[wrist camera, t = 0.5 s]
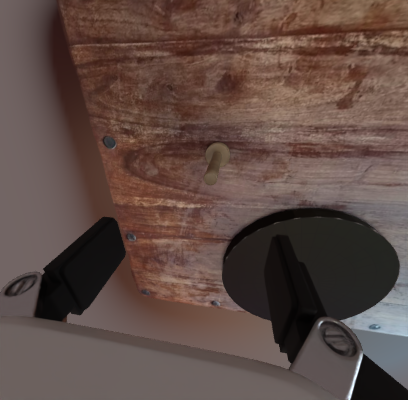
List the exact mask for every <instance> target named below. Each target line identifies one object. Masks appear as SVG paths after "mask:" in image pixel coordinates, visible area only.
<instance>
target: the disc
mask: <svg viewBox="0 0 408 400" xmlns="http://www.w3.org/2000/svg"><path fill="white" fill-rule="evenodd" d="M276 234H279V235H288V237H289V239H290V241H291V244H292V246H293V249H294V252H295V254H296V257H297V259H298V261H300V262H304V263H305V265H306V267H307V270H308V272H309V274H310V276H311V279H312V281H313V283H314V286H315V288H316V290H317V293H318V295H319V297H320V300H321V302H322V304H323V307H324V309H325V311H326V314H327V316H328V317H332V318H335V319H337V320H343V319H347V318H349V317H352V316H355V315H357V314H360V313H362V312H364V311H366V310H368V309H369V308H371V307H373V306H375V305H376V304H377V303H378V302H380V301H381V300H382V299H383V298H385V297H386V295H387V294H388V293H389V292H390V291H391V290H392V288H393V287H394V285H395V283H396V281H397V278H398V276H399V267H400V263H399V260H398V256H397V252H396V251H395V249H394V248H393V247H392V245H391V244H390V242H389V241H388V240H387V239H385V238H384V237H383V236H382V235H380V234H379V233H378V232H377V231H376V230H375V229H374V228H372V227H371V226H370V225H369V224H367V223H366V222H365V221H363V220H361V219H359V218H357V217H355V216H352V215H350V214H348V213H343V212H339V211H335V210H331V209H319V208H305V209H292V210H288V211H284V212H279V213H275V214H272V215H270V216H267V217H265V218H262V219H260V220H257V221H256V222H254V223H253V224H251V225H249V226H248V227H246V228H244V229H243V230H242V231H241V232H240V233H239V234H238V235H237V236H236V237H235V238H234V239H233V240H232V242H231V243H230V245H229V246H228V248H227V251H226V253H225V256H224V263H223V271H222V280H223V284H224V287H225V289H226V291H227V293H228V295H229V296H230V297H231V298H232V300H233V301H234V302H235V303H236V304H238V305H239V306H240V307H241V308H243V309H244V310H246V311H248V312H250V313H251V314H253V315H256V316H259V317H261V318H263V319H267V320H270V321H271V316H270V310H269V304H268V298H267V292H266V286H265V280H264V267H265V263H266V259H267V255H268V251H269V247H270V243H271V239H272V237H275V236H276Z"/></svg>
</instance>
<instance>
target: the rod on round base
mask: <svg viewBox="0 0 408 400" xmlns="http://www.w3.org/2000/svg"><path fill="white" fill-rule="evenodd" d="M205 157H206V161H207V162H208V164H209V166H208V168H207V171H206V173H205V176H204V182H205V183H206V184H208V185H214V184H215V183H216V182H217V178H218V173H219V169H220V167H223V166H225V165H226V164H227V163H228V161H229V158H230V150H229V148H228V146H227V145H226V144H224V143H222V142H214V143H212V144H211V145H210V146H209V147H208V149H207V150H206V154H205Z"/></svg>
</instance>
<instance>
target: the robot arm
mask: <svg viewBox="0 0 408 400" xmlns="http://www.w3.org/2000/svg"><path fill="white" fill-rule="evenodd" d="M125 253H126V251H125V248H124V245H123V241H122V237H121V234H120V230H119V227H118V224H117V221H116V220H115V219H114V218H110V217H102V218H101V219H100V220H99V221H98V222H96V223H95V224H94V225H93V226H92V227H91V228H90V229H89V230H87V231H86V232H85V233H84V234H83V235H82V236H80V237H79V238H78V239H77V240H76V241H75V242H73V243H72V244H71V245H70V246H69V247H68V248H67V249H65V250H64V251H63V252H62V253H61V254H60V255H58V257H56V258H55V259H54V260H53V261H51V262H50V263H49V264H48V265H47V266H46V267H45V268H43V270H44V271H45V273H44V274H43V275H41V274H40V273H39V272H29V273H25V274H23V275H20V276H18V277H17V278H15V279H13V280H12V281H10V282H9V283H8V284H7V285H6V286H5V287H4V288H3V289H2V291H1V292H0V400H408V390H407V389H406V388H404V387H403V386H402V385H401V384H400V383H399V382H397V381H396V380H395V379H394V378H393V377H391V376H390V375H389V374H388V373H386V372H385V371H384V370H383V369H381V368H380V367H379V366H378V365H377V364H375V363H374V362H373V361H372V360H371V359H369V358H368V357H367V356H366V355H364V354H363V349H362V346H361V343H360V341H359V340H358V338H357V336H356V335H355V334H354V333H353V331H352V330H351V329H350V328H349V327H347V326H346V325H345V324H344V323H342V322H341V321H339V320H337V319H335V318H332V317H328V316H327V314H326V311H325V309H324V307H323V304H322V302H321V300H320V297H319V295H318V293H317V290H316V288H315V286H314V283H313V281H312V279H311V276H310V274H309V272H308V270H307V267H306V265H305V263H304V262H300V261H298V259H297V257H296V254H295V252H294V249H293V246H292V244H291V241H290V239H289V237H288V235H279V234H276V236H275V237H272V239H271V243H270V247H269V251H268V255H267V259H266V263H265V267H264V280H265V286H266V292H267V298H268V304H269V310H270V316H271V322H272V328H273V334H274V339H275V343H277V344H279V347H280V352H282V353H287V356H288V360H289V362H290V363H291V366H290V367H289V369H285V368H282V367H280V366H276V365H272V364H269V363H265V362H261V361H258V360H253V359H248V358H244V357H239V356H235V355H230V354H226V353H221V352H216V351H211V350H205V349H200V348H195V347H190V346H186V345H181V344H175V343H170V342H165V341H160V340H155V339H149V338H144V337H139V336H134V335H129V334H124V333H119V332H113V331H108V330H103V329H97V328H92V327H86V326H81V325H76V324H71V323H67V315H68V314H69V313H70V312H71V314H77V315H81V314H82V313H83V311H84V310H85V309H87V308H88V307H89V306H90V305H91V303H92V302H93V301H94V299H95V298H96V296H97V295H98V293H99V292H100V290H101V289H102V288H103V286H104V285H105V284H106V282H107V281H108V279H109V278H110V277H111V275H112V274H113V273H114V271H115V270H116V268H117V267H118V266H119V264H120V263H121V261H122V260H123V259H124V257H125Z"/></svg>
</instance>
